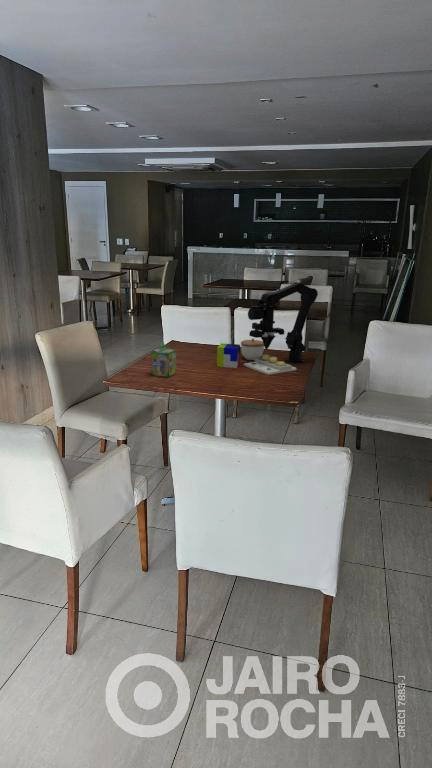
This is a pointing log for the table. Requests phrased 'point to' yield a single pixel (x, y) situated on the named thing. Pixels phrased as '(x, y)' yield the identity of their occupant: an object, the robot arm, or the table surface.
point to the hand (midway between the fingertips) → (266, 349)
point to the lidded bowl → (252, 349)
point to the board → (268, 367)
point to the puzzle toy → (228, 355)
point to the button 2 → (280, 363)
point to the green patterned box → (163, 361)
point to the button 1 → (265, 357)
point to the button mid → (273, 360)
